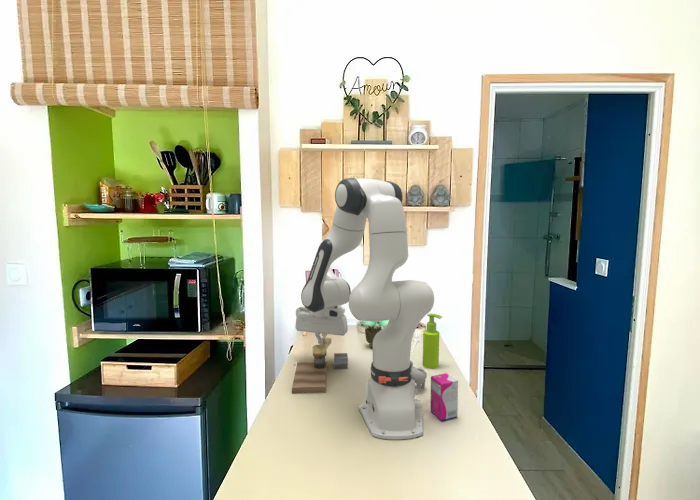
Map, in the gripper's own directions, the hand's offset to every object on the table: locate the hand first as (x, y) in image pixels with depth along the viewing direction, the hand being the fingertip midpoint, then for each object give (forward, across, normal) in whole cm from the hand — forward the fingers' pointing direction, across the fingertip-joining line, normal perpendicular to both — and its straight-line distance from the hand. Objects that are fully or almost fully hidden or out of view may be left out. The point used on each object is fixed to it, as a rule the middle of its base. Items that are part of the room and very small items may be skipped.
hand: (321, 343), depth 154 cm
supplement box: (+7, +47, -27) cm, 55 cm away
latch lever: (+1, +2, -5) cm, 5 cm away
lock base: (+7, +5, -13) cm, 15 cm away
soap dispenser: (+7, +42, +7) cm, 43 cm away
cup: (+7, +16, +20) cm, 27 cm away
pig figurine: (+7, +35, -12) cm, 38 cm away
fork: (+8, +33, +27) cm, 44 cm away
